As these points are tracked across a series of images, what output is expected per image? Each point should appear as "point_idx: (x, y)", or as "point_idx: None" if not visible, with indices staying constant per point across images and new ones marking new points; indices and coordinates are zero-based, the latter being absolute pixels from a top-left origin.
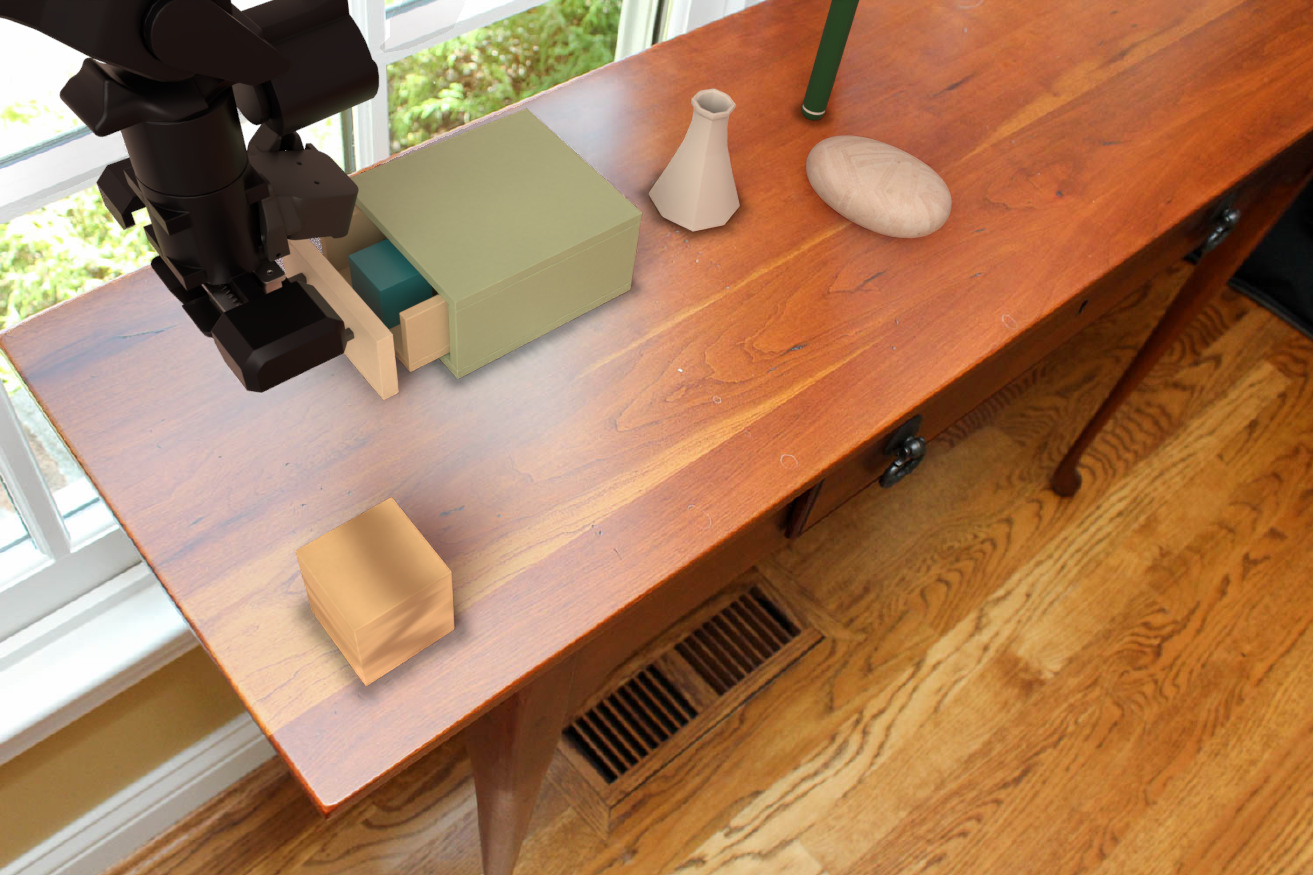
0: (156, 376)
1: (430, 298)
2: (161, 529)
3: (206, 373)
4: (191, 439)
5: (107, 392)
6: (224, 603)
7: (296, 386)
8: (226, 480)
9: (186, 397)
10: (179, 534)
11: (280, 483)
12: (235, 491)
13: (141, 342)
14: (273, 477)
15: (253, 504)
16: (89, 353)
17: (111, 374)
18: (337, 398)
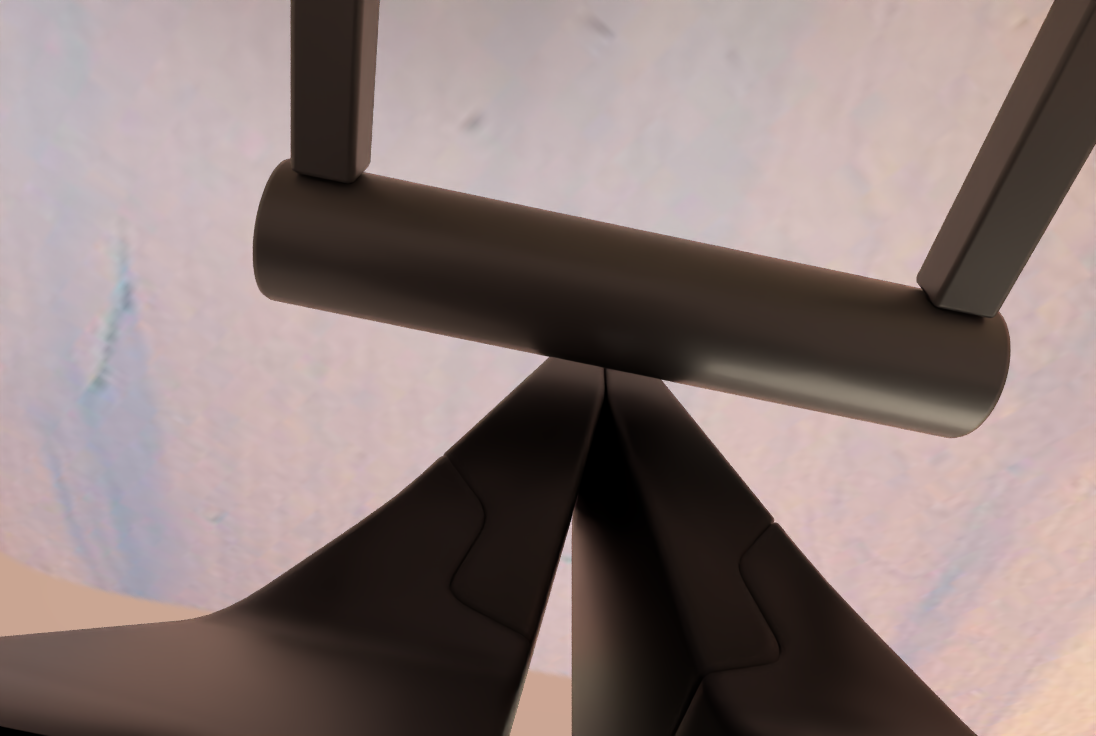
0: (320, 420)
1: None
2: None
3: None
4: None
5: (295, 528)
6: (1081, 722)
7: (724, 123)
8: (822, 531)
9: (462, 417)
10: None
11: (988, 454)
12: (875, 539)
13: (148, 364)
14: (950, 452)
15: (958, 539)
16: (119, 478)
17: (235, 488)
18: (937, 36)
